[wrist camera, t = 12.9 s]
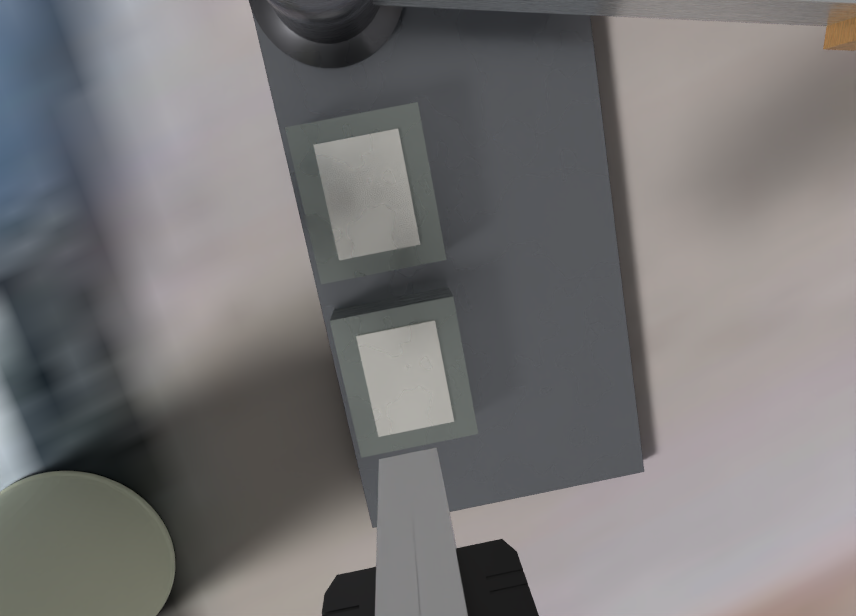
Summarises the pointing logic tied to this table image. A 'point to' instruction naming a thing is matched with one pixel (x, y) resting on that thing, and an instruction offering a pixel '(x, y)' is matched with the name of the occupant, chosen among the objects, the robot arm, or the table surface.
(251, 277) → the table surface
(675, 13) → the swing arm
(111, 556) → the can
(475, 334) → the tray
